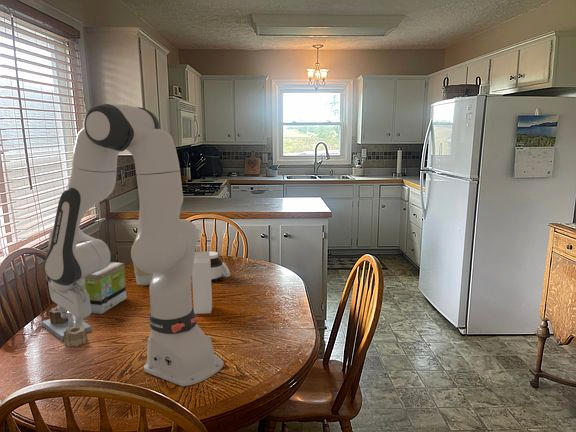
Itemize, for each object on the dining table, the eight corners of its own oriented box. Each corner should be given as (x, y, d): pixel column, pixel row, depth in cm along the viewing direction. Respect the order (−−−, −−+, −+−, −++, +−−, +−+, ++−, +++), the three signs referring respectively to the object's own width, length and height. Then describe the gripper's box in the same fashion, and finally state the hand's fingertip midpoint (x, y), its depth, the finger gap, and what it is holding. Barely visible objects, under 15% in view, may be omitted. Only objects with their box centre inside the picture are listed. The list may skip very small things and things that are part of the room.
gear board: (91, 330, 136) (89, 311, 134) (62, 340, 129) (60, 321, 128) (70, 316, 146) (68, 299, 145) (42, 325, 139) (40, 307, 138)
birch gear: (90, 341, 129) (89, 329, 128) (70, 348, 124) (69, 336, 123) (82, 335, 132) (80, 323, 132) (61, 342, 128) (60, 330, 127)
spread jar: (196, 279, 183) (195, 254, 181) (214, 272, 192) (213, 248, 190) (217, 284, 177) (216, 258, 174) (234, 277, 186) (233, 251, 184)
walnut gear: (75, 318, 141) (74, 307, 140) (57, 325, 136) (56, 314, 135) (64, 315, 144) (63, 304, 143) (46, 321, 139) (45, 310, 138)
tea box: (103, 314, 148) (99, 274, 145) (78, 312, 150) (74, 273, 147) (127, 298, 162) (124, 261, 159) (104, 296, 164) (101, 260, 161)
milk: (210, 313, 149) (208, 253, 144) (193, 314, 148) (190, 254, 143) (212, 306, 154) (210, 249, 150) (195, 307, 154) (193, 249, 149)
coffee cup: (160, 281, 181) (158, 247, 178) (143, 287, 173) (141, 252, 170) (146, 277, 185) (144, 244, 183) (129, 283, 178) (126, 249, 175)
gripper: (95, 285, 120) (98, 329, 123) (64, 268, 133) (68, 309, 136) (72, 291, 116) (76, 337, 118) (43, 273, 128) (47, 315, 131)
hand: (71, 322), depth 127 cm, fingers open, 8 cm apart
